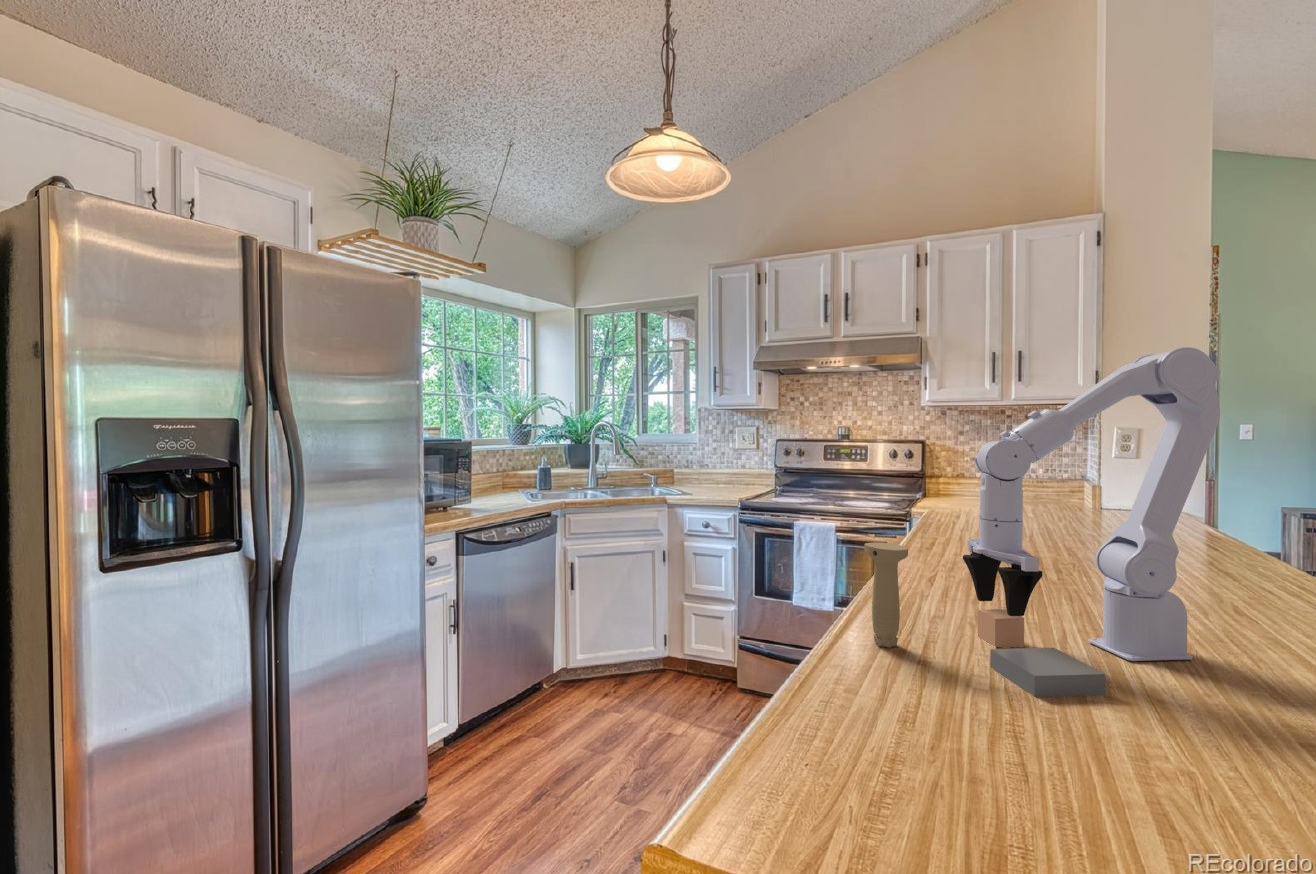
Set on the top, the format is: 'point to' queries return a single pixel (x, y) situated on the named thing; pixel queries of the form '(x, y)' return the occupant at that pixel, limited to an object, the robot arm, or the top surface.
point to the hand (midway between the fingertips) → (999, 607)
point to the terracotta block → (1000, 628)
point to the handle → (885, 591)
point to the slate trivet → (1047, 672)
